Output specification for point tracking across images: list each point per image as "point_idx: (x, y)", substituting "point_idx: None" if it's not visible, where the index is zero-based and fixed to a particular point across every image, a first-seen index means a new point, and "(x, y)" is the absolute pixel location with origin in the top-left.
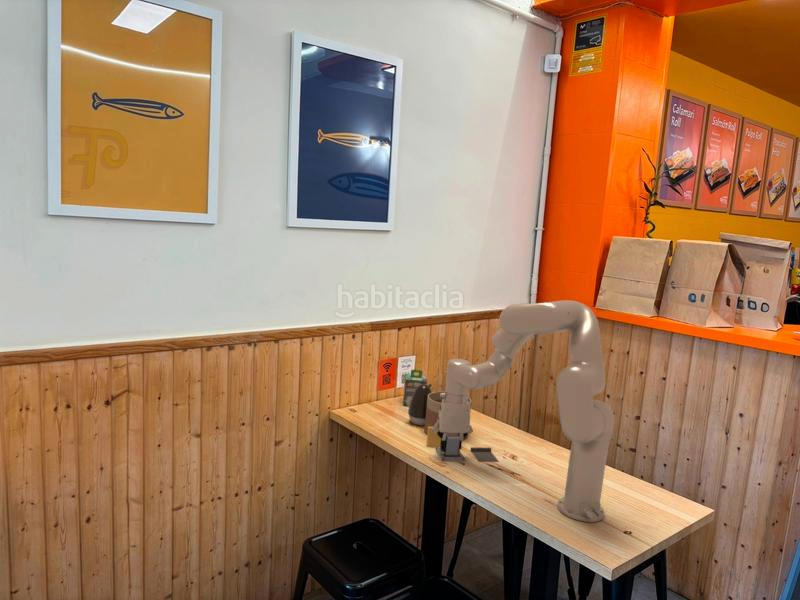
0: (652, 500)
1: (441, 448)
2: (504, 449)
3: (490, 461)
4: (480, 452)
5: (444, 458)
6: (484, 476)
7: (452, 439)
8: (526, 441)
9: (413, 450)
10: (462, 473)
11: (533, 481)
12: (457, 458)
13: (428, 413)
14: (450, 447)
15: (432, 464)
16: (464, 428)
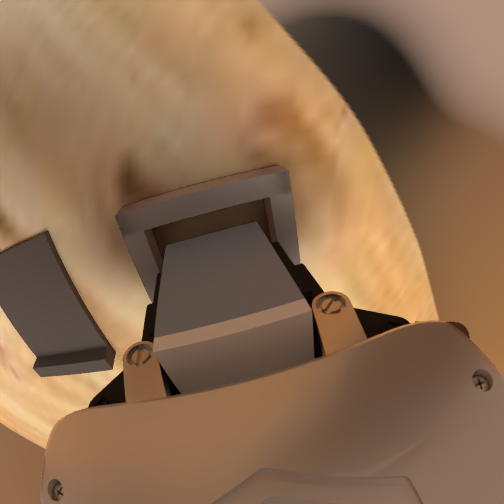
0: None
1: (301, 263)
2: (20, 381)
3: (1, 256)
4: (67, 345)
5: (269, 173)
6: (26, 51)
7: (243, 309)
8: (11, 419)
9: (391, 279)
10: (147, 28)
11: None
12: (169, 198)
13: None
14: (239, 256)
15: (337, 122)
16: (91, 465)
